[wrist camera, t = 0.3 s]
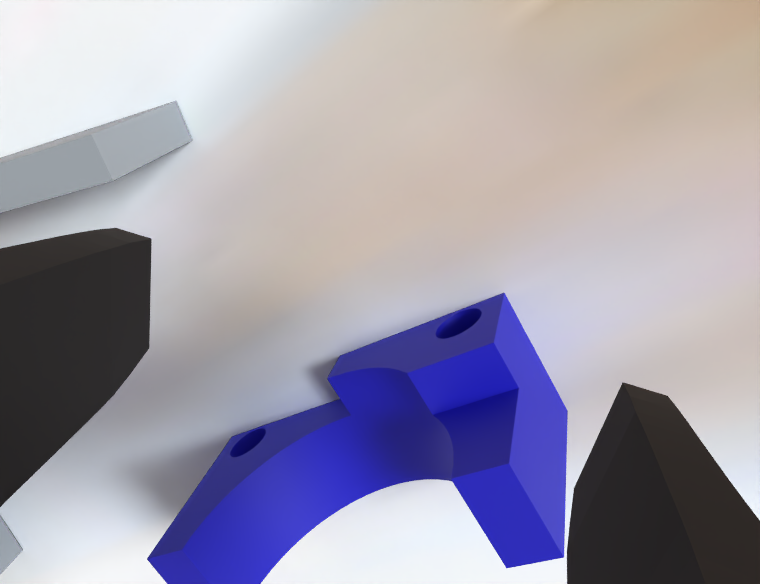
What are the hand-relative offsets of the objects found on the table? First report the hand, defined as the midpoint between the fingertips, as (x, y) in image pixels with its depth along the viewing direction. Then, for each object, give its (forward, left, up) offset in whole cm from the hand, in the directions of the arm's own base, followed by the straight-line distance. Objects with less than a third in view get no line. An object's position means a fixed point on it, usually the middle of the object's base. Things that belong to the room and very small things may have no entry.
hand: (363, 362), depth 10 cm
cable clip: (-7, +5, -10) cm, 14 cm away
